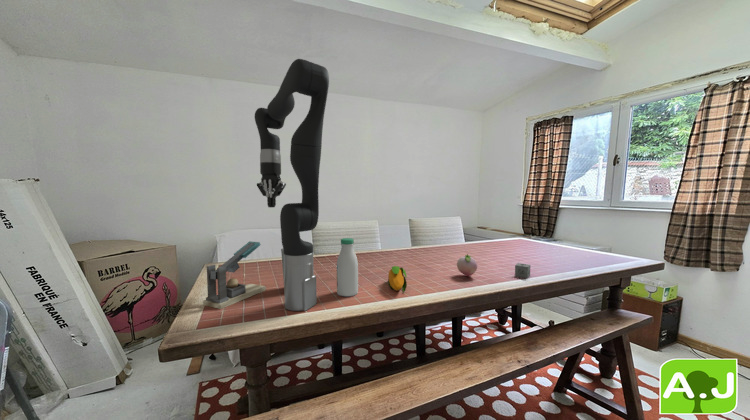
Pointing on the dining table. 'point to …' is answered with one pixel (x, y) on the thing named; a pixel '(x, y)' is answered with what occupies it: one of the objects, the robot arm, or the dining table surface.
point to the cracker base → (227, 290)
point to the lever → (237, 258)
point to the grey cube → (522, 270)
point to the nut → (232, 283)
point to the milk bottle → (347, 269)
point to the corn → (397, 278)
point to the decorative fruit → (467, 265)
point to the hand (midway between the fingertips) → (271, 207)
